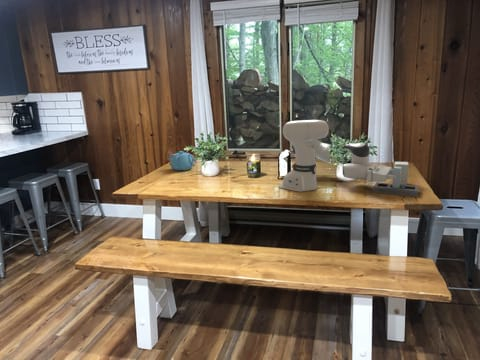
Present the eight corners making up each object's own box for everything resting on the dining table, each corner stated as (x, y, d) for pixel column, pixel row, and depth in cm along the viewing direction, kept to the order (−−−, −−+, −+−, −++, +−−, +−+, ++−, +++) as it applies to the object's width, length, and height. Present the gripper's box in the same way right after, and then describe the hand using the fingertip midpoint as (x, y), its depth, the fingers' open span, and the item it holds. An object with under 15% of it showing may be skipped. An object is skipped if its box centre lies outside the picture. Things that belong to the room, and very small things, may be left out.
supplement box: (407, 186, 219) (408, 164, 216) (393, 185, 222) (394, 164, 219) (406, 182, 226) (408, 161, 223) (393, 182, 229) (394, 161, 225)
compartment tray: (373, 192, 212) (373, 186, 211) (376, 187, 220) (376, 182, 219) (416, 196, 201) (417, 191, 200) (418, 191, 209) (419, 186, 209)
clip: (391, 191, 210) (393, 168, 206) (393, 189, 213) (394, 166, 209) (398, 192, 208) (400, 168, 205) (400, 190, 211) (401, 166, 208)
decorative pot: (173, 173, 272) (171, 154, 268) (169, 168, 286) (167, 150, 282) (196, 170, 277) (194, 151, 273) (190, 165, 292) (189, 148, 288)
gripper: (374, 173, 224) (400, 175, 217) (367, 182, 207) (394, 185, 200) (375, 163, 222) (401, 164, 215) (367, 171, 205) (395, 173, 198)
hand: (398, 174), depth 208 cm, fingers open, 8 cm apart
